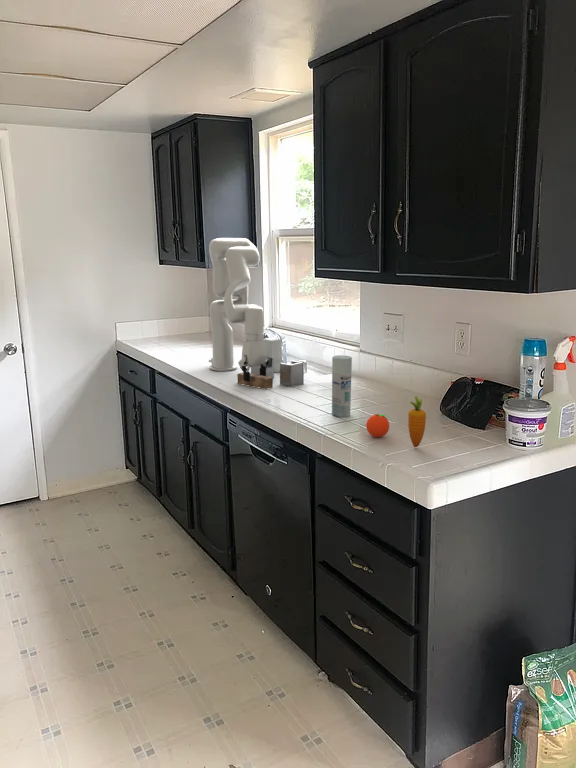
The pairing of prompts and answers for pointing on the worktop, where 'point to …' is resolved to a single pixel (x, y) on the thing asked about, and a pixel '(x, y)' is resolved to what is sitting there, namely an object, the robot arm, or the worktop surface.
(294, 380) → the brackets
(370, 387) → the worktop surface
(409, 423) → the carrot
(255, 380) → the walnut rail
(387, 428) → the clementine
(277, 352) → the skincare box
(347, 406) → the spray paint can
